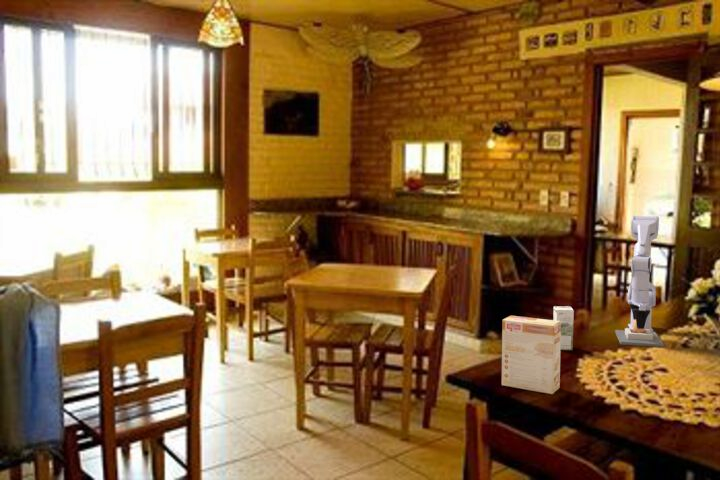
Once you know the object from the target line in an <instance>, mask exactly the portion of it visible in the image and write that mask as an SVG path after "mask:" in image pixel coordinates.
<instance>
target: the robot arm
mask: <svg viewBox="0 0 720 480" xmlns="http://www.w3.org/2000/svg"><path fill="white" fill-rule="evenodd" d="M659 225H660V217H659V216H658V215H656V216H654V215H653V216H651V215H648V216H647V215H645V216H644V215H632V216H631V218H630V231H631V232H630V233H631V237H632V238H633V239H635V240H636V241H637V242H636V243H635V244H634V246H633V248H634V249H633V257H632V258H631V262H630V263H631V264H630V267H631V268H630V269H631V270H630V271H631V277H632V278H631V283H630V284H629V285H628V291H627V304H628V305H629V307H630V323H628V324H627V326H628V328H633V320H635V319H636V324H637V328H638V329H644V326H645V329H649V330H650V331H651V332H654V329H653V327H652V310H653V309H652V308H653V307H655V306H656V301H657V299H656V298H657V296H656V295H657V291H656V286H655V284H653V283H652V282H650V274H651V270H652V256H651V254H652V246H651V244H652V241H653V240H656V239H658V236H659V227H660V226H659Z"/></svg>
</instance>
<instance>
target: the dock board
mask: <svg viewBox="0 0 720 480" xmlns="http://www.w3.org/2000/svg"><path fill="white" fill-rule="evenodd" d="M614 333H615V335H616V337H617V340H618V341H619V344H620V345H622V346H625V345H626V346H638V347H641V346H642V347H653V348H654V347H656V348H665V344H664V342H663V341H662V339H661V338H660V337H659V335H658V334H657V333H656V331H650V330H649V329H645V334H643V333H633V328H629V327H626V328H625V327H624V330H623V329H615V330H614Z"/></svg>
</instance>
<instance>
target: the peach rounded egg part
mask: <svg viewBox="0 0 720 480" xmlns="http://www.w3.org/2000/svg"><path fill="white" fill-rule="evenodd" d="M633 333H643V334H645V326H644V329H638V328H637V324H636V319H635V320H633Z"/></svg>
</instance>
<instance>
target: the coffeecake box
mask: <svg viewBox="0 0 720 480" xmlns="http://www.w3.org/2000/svg"><path fill="white" fill-rule="evenodd" d="M501 327H502V328H501V329H502V332H501V333H502V335H501V343H502V344H501V345H502V346H501V386H505V387H511V388H515V389H522V390H527V391H532V392H537V393H543V394H547V395H549V394H550V395H553V394H555V392H557V391H558V390H559V389H560V383H561V379H560V378H561V377H560V376H561V350H560V346H561V321H555V320H553V319H546V318H545V319H544V318H538V317H537V318H536V317H535V318H534V317H527V316H517V315H509V316H507V317H505V318H503V319H502V326H501Z"/></svg>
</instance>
